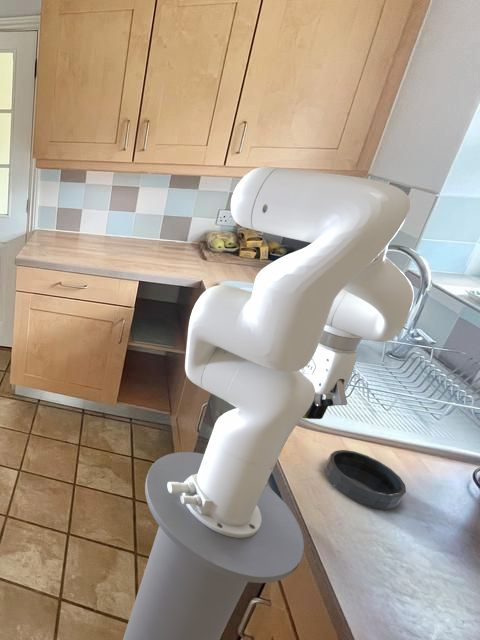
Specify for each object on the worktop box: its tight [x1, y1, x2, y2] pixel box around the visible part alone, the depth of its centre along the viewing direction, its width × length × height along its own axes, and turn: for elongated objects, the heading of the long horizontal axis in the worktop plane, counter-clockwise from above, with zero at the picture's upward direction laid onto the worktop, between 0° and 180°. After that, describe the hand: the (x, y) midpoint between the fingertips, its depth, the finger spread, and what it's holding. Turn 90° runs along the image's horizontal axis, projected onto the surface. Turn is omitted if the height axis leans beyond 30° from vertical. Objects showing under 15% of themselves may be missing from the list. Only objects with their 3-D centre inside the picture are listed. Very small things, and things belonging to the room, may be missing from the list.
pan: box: [323, 449, 407, 511], centre depth 82 cm, size 11×11×4 cm
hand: (302, 407), depth 90 cm, fingers closed on lemon, 5 cm apart
